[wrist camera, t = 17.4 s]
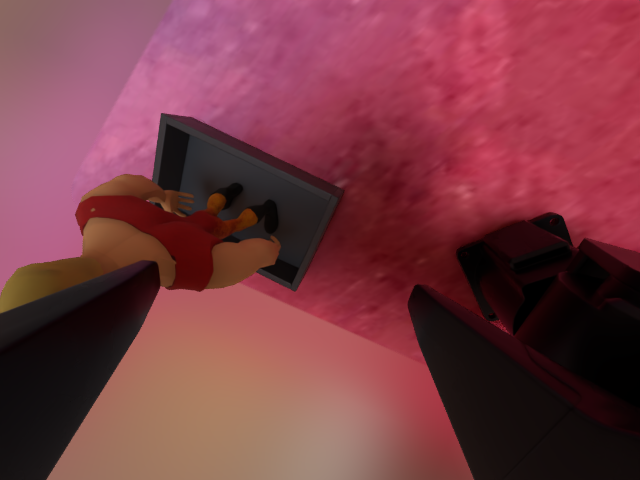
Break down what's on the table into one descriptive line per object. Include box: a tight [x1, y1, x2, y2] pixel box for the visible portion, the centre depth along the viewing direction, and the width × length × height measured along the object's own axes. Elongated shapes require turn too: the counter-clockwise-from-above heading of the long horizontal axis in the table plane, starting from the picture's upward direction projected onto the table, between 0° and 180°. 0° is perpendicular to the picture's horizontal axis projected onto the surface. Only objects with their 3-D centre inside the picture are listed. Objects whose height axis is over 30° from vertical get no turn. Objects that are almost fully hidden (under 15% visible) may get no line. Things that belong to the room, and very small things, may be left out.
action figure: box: [0, 174, 281, 313], centre depth 14 cm, size 10×4×15 cm, turn 65°
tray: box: [149, 113, 344, 291], centre depth 19 cm, size 13×8×3 cm, turn 66°
